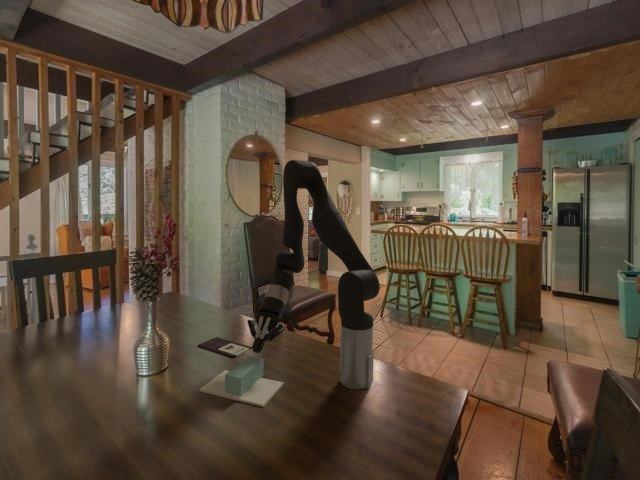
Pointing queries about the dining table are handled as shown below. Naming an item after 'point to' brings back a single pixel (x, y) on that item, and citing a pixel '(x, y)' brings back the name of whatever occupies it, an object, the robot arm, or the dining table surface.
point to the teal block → (244, 376)
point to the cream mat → (254, 395)
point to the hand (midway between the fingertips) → (255, 352)
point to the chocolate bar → (225, 347)
